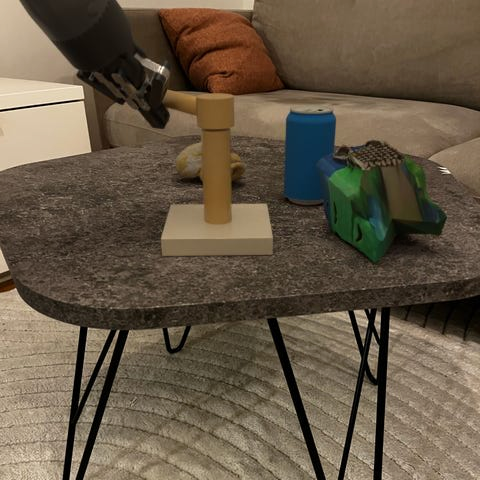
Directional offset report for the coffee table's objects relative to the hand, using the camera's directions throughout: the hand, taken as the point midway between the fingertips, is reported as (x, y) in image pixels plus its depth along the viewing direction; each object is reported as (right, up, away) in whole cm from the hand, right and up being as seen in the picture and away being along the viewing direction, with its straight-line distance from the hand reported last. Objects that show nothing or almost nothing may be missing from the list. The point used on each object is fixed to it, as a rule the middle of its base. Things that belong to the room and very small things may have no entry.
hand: (162, 122), depth 72 cm
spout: (+3, -2, -3) cm, 5 cm away
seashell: (+5, -2, +20) cm, 20 cm away
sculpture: (+25, -15, -4) cm, 29 cm away
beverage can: (+19, -7, +10) cm, 23 cm away
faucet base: (+7, -14, -2) cm, 16 cm away
